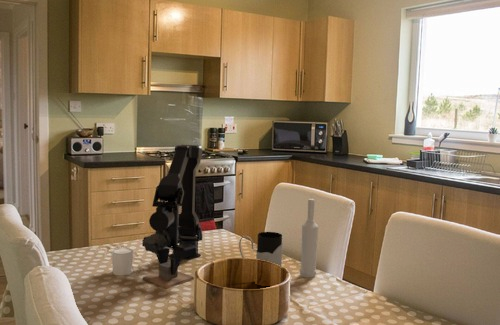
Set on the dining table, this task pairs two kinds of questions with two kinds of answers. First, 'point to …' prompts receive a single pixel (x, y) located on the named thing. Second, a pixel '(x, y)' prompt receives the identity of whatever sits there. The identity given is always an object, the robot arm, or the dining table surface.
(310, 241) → the bottle
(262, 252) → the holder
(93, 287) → the dining table surface
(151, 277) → the walnut lid
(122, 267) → the white cup
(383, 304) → the dining table surface
